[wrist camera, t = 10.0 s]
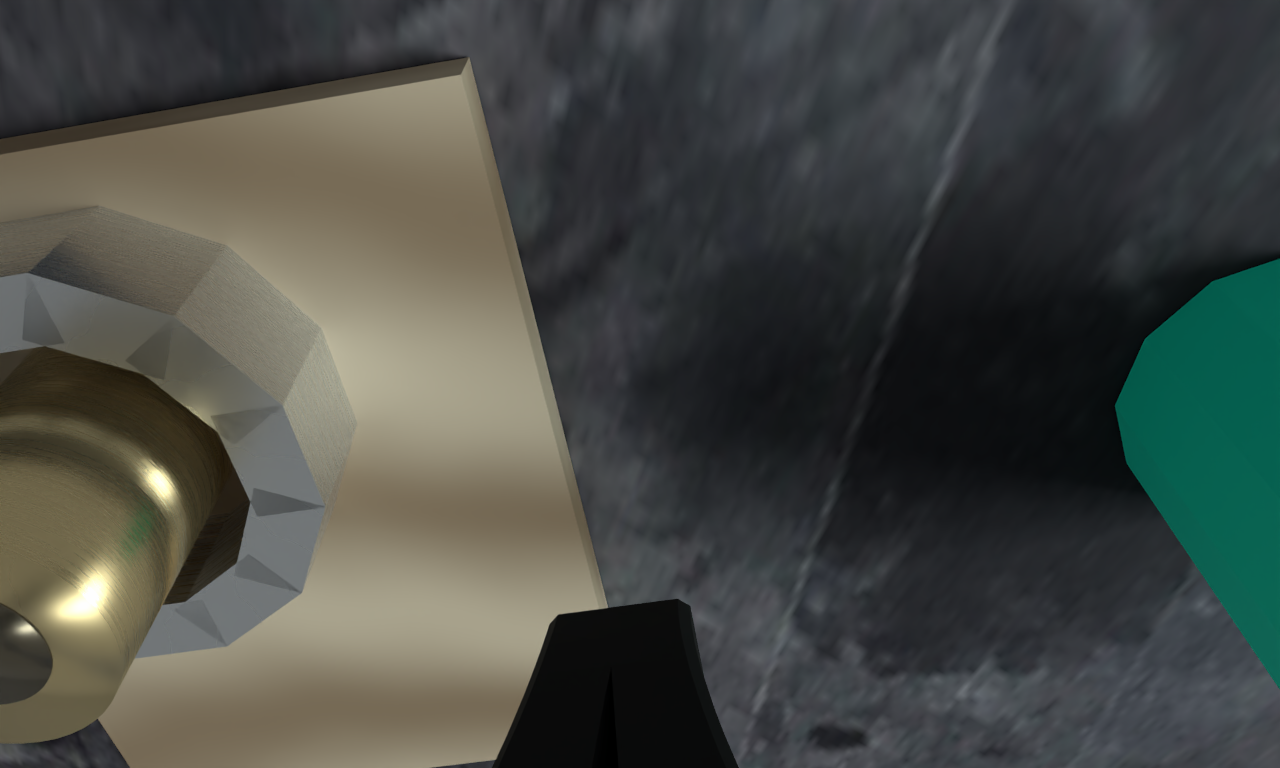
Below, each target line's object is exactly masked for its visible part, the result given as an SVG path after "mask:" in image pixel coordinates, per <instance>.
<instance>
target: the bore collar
mask: <svg viewBox="0 0 1280 768" xmlns="http://www.w3.org/2000/svg"><path fill="white" fill-rule="evenodd" d="M43 346H46V347H50V348H53V349H57V350H60V351H64V352H67V353H71V354H74V355H78V356H81V357H85V358H88V359H92V360H95V361H99V362H102V363H106V364H110V365H113V366H117V367H120V368H124V369H127V370H131V371H134V372H138V373H141V374H143V375H145V376H146V377H147V378H149V379H150V380H151V381H152V382H154V383H155V384H156V385H158V386H159V387H160V388H161V389H163V390H164V391H165V392H167V393H168V394H169V395H170V396H172V397H173V398H174V399H176V400H177V401H178V402H179V403H181V404H182V405H183V406H185V407H186V408H187V409H188V410H190V411H191V412H192V413H193V414H195V415H196V416H197V417H199V418H200V419H201V420H202V421H204V422H205V423H206V424H208V425H209V426H210V427H211V428H213V429H214V430H215V431H217V432H218V434H219V436H220V438H221V440H222V442H223V444H224V447H225V449H226V451H227V453H228V455H229V457H230V459H231V462H232V464H233V466H234V468H235V470H236V472H237V474H238V476H239V479H240V481H241V483H242V485H243V487H244V489H245V491H246V494H247V496H248V499H247V500H246V501H244V502H243V503H242V504H240V505H239V506H238V507H237V508H235V509H234V510H233V511H231V512H230V513H226V514H219V515H212V516H209V517H208V519H207V521H206V523H205V525H204V526H203V528H202V530H201V532H200V534H199V536H198V538H197V540H196V542H195V544H194V546H193V548H192V549H191V551H190V553H189V555H188V557H187V559H186V561H185V563H184V565H183V567H182V569H181V571H180V572H179V574H178V576H177V578H176V580H175V582H174V584H173V586H172V588H171V590H170V592H169V594H168V595H167V597H166V599H165V601H164V603H163V605H162V607H161V609H160V611H159V613H158V615H157V616H156V618H155V620H154V622H153V624H152V626H151V628H150V630H149V632H148V634H147V636H146V638H145V639H144V641H143V643H142V645H141V647H140V649H139V651H138V653H137V655H136V657H135V659H136V658H144V657H151V656H159V655H167V654H174V653H182V652H189V651H197V650H205V649H212V648H220V647H227V646H229V645H230V644H231V643H233V642H234V641H236V640H237V639H238V638H240V637H241V636H243V635H244V634H245V633H247V632H248V631H250V630H251V629H252V628H254V627H255V626H257V625H258V624H259V623H261V622H262V621H264V620H265V619H266V618H268V617H269V616H270V615H272V614H273V613H275V612H276V611H277V610H279V609H280V608H282V607H283V606H284V605H286V604H287V603H289V602H290V601H291V600H293V599H294V598H296V597H297V596H298V595H300V594H301V593H302V592H303V589H304V587H305V584H306V581H307V578H308V576H309V573H310V570H311V568H312V565H313V562H314V560H315V557H316V554H317V551H318V549H319V546H320V543H321V541H322V538H323V535H324V533H325V530H326V527H327V524H328V522H329V519H330V516H331V514H332V511H333V508H334V506H335V502H336V498H337V495H338V491H339V488H340V484H341V480H342V477H343V473H344V470H345V466H346V462H347V459H348V455H349V452H350V448H351V444H352V441H353V437H354V434H355V430H356V427H357V420H356V418H355V415H354V413H353V410H352V407H351V405H350V402H349V399H348V397H347V394H346V391H345V389H344V386H343V384H342V381H341V378H340V376H339V373H338V370H337V368H336V365H335V363H334V360H333V357H332V355H331V352H330V349H329V347H328V344H327V341H326V339H325V336H324V334H323V331H322V328H321V327H320V326H319V325H318V324H316V323H315V322H314V321H313V320H312V319H311V318H310V317H308V316H307V315H306V314H305V313H304V312H303V311H302V310H300V309H299V308H298V307H297V306H296V305H295V304H294V303H292V302H291V301H290V300H289V299H288V298H287V297H286V296H284V295H283V294H282V293H281V292H280V291H279V290H278V289H276V288H275V287H274V286H273V285H272V284H271V283H270V282H269V281H267V280H266V279H265V278H264V277H263V276H262V275H261V274H259V273H258V272H257V271H256V270H255V269H254V268H253V267H251V266H250V265H249V264H248V263H247V262H246V261H245V260H243V259H242V258H241V257H240V256H239V255H238V254H237V253H235V252H234V251H233V250H232V249H231V248H230V247H229V246H227V245H224V244H221V243H218V242H215V241H211V240H208V239H205V238H202V237H199V236H195V235H192V234H189V233H186V232H183V231H179V230H176V229H173V228H170V227H166V226H163V225H160V224H157V223H154V222H150V221H147V220H144V219H141V218H138V217H134V216H131V215H128V214H125V213H122V212H118V211H115V210H112V209H109V208H105V207H102V206H95V207H89V208H83V209H77V210H72V211H66V212H60V213H54V214H48V215H42V216H36V217H30V218H24V219H18V220H12V221H6V222H0V353H5V352H11V351H17V350H24V349H30V348H36V347H43Z"/></svg>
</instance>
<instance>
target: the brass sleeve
mask: <svg viewBox="0 0 1280 768" xmlns="http://www.w3.org/2000/svg"><path fill="white" fill-rule="evenodd" d="M233 469H234V466H233V464H232V462H231V459H230V457H229V455H228V453H227V451H226V449H225V447H224V444H223V442H222V440H221V438H220V436H219V434H218V432H217V431H215V430H214V429H213V428H211V427H210V426H209V425H208V424H206V423H205V422H204V421H202V420H201V419H200V418H199V417H197V416H196V415H195V414H193V413H192V412H191V411H190V410H188V409H187V408H186V407H185V406H183V405H182V404H181V403H179V402H178V401H177V400H176V399H174V398H173V397H172V396H170V395H169V394H168V393H167V392H165V391H164V390H163V389H161V388H160V387H159V386H158V385H156V384H155V383H154V382H152V381H151V380H150V379H149V378H147V377H146V376H145V375H143V374H141V373H138V372H134V371H131V370H127V369H124V368H120V367H117V366H113V365H110V364H106V363H102V362H99V361H95V360H92V359H88V358H85V357H81V356H78V355H74V354H71V353H67V352H64V351H60V350H57V349H53V348H50V347H46V346H43V347H36V348H34V349H33V350H32V351H31V352H30V353H29V354H28V355H27V356H26V357H25V358H24V359H23V361H22V362H21V363H20V364H19V365H18V366H17V367H16V368H15V369H14V370H13V371H12V372H11V373H10V374H9V375H8V376H7V378H6V379H5V380H4V381H3V382H2V383H1V384H0V743H32V742H41V741H47V740H52V739H56V738H60V737H63V736H66V735H69V734H72V733H74V732H76V731H78V730H81V729H83V728H85V727H86V726H88V725H89V724H91V723H92V722H94V721H95V720H96V719H97V718H99V717H100V716H101V715H102V714H103V713H104V712H105V711H106V709H107V708H108V707H109V705H110V704H111V703H112V701H113V699H114V697H115V695H116V693H117V691H118V689H119V687H120V685H121V684H122V682H123V680H124V678H125V676H126V674H127V672H128V670H129V668H130V666H131V664H132V662H133V661H134V659H135V657H136V655H137V653H138V651H139V649H140V647H141V645H142V643H143V641H144V639H145V638H146V636H147V634H148V632H149V630H150V628H151V626H152V624H153V622H154V620H155V618H156V616H157V615H158V613H159V611H160V609H161V607H162V605H163V603H164V601H165V599H166V597H167V595H168V594H169V592H170V590H171V588H172V586H173V584H174V582H175V580H176V578H177V576H178V574H179V572H180V571H181V569H182V567H183V565H184V563H185V561H186V559H187V557H188V555H189V553H190V551H191V549H192V548H193V546H194V544H195V542H196V540H197V538H198V536H199V534H200V532H201V530H202V528H203V526H204V525H205V523H206V521H207V519H208V517H209V515H210V513H211V511H212V509H213V507H214V505H215V504H216V502H217V500H218V498H219V496H220V494H221V492H222V490H223V488H224V486H225V484H226V482H227V481H228V479H229V477H230V475H231V473H232V471H233Z"/></svg>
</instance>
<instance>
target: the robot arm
mask: <svg viewBox="0 0 1280 768" xmlns="http://www.w3.org/2000/svg"><path fill="white" fill-rule="evenodd" d="M492 768H739V767H738V765H737V763H736V760H735V758H734V756H733V753H732V751H731V749H730V746H729V744H728V742H727V739H726V737H725V735H724V732H723V730H722V727H721V725H720V722H719V719H718V717H717V714H716V711H715V709H714V706H713V703H712V700H711V697H710V694H709V691H708V688H707V685H706V682H705V679H704V675H703V669H702V664H701V659H700V654H699V649H698V644H697V639H696V633H695V628H694V623H693V618H692V613H691V608H690V606H689V605H687V604H686V603H684V602H682V601H681V600H679V599H673V600H665V601H657V602H650V603H642V604H634V605H627V606H619V607H611V608H604V609H596V610H588V611H581V612H573V613H565V614H558V615H557V616H556V617H555V619H554V620H553V621H552V622H551V623H550V624H549V627H548V630H547V633H546V636H545V639H544V642H543V645H542V648H541V651H540V654H539V656H538V659H537V662H536V665H535V667H534V670H533V673H532V675H531V678H530V681H529V683H528V686H527V688H526V691H525V693H524V696H523V698H522V701H521V703H520V705H519V708H518V710H517V713H516V715H515V717H514V720H513V722H512V724H511V727H510V729H509V732H508V734H507V736H506V738H505V741H504V743H503V745H502V747H501V749H500V751H499V754H498V756H497V758H496V760H495V762H494V764H493V767H492Z"/></svg>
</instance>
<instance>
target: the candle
mask: <svg viewBox="0 0 1280 768" xmlns="http://www.w3.org/2000/svg"><path fill="white" fill-rule="evenodd" d="M1115 409H1116V414H1117V419H1118V424H1119V429H1120V434H1121V439H1122V444H1123V449H1124V454H1125V459H1126V463H1127V465H1128V466H1129V468H1130V469H1131V471H1132V472H1133V473H1134V475H1135V476H1136V478H1137V479H1138V481H1139V482H1140V484H1141V485H1142V487H1143V488H1144V490H1145V491H1146V493H1147V494H1148V496H1149V497H1150V499H1151V500H1152V502H1153V503H1154V504H1155V506H1156V507H1157V509H1158V510H1159V512H1160V513H1161V515H1162V516H1163V518H1164V519H1165V521H1166V522H1167V524H1168V525H1169V527H1170V528H1171V530H1172V531H1173V533H1174V534H1175V535H1176V537H1177V538H1178V540H1179V541H1180V543H1181V544H1182V546H1183V547H1184V549H1185V550H1186V552H1187V553H1188V555H1189V556H1190V558H1191V559H1192V561H1193V562H1194V564H1195V565H1196V566H1197V568H1198V569H1199V571H1200V572H1201V574H1202V575H1203V577H1204V578H1205V580H1206V581H1207V583H1208V584H1209V586H1210V587H1211V589H1212V590H1213V592H1214V593H1215V595H1216V596H1217V597H1218V599H1219V600H1220V602H1221V603H1222V605H1223V606H1224V608H1225V609H1226V611H1227V612H1228V614H1229V615H1230V617H1231V618H1232V620H1233V621H1234V623H1235V624H1236V626H1237V627H1238V628H1239V630H1240V631H1241V633H1242V634H1243V636H1244V637H1245V639H1246V640H1247V642H1248V643H1249V645H1250V646H1251V648H1252V649H1253V651H1254V652H1255V654H1256V655H1257V657H1258V658H1259V659H1260V661H1261V662H1262V664H1263V665H1264V667H1265V668H1266V670H1267V671H1268V673H1269V674H1270V676H1271V677H1272V679H1273V680H1274V682H1275V683H1276V685H1277V686H1278V688H1279V689H1280V259H1277V260H1274V261H1271V262H1268V263H1265V264H1262V265H1259V266H1256V267H1253V268H1250V269H1247V270H1244V271H1241V272H1238V273H1235V274H1232V275H1230V276H1227V277H1224V278H1221V279H1218V280H1215V281H1212V282H1211V283H1210V284H1209V285H1207V286H1206V287H1205V288H1204V289H1203V290H1202V291H1200V292H1199V293H1198V294H1197V295H1196V296H1195V297H1193V298H1192V299H1191V300H1190V301H1189V302H1188V303H1186V304H1185V305H1184V306H1183V307H1182V308H1180V309H1179V310H1178V311H1177V312H1176V313H1175V314H1173V315H1172V316H1171V317H1170V318H1169V319H1168V320H1166V321H1165V322H1164V323H1163V324H1162V325H1161V326H1159V327H1158V328H1157V329H1156V330H1155V331H1153V332H1152V333H1151V334H1150V335H1149V336H1148V337H1146V338H1145V340H1144V342H1143V344H1142V346H1141V349H1140V351H1139V353H1138V355H1137V357H1136V360H1135V362H1134V364H1133V366H1132V369H1131V371H1130V373H1129V375H1128V377H1127V380H1126V382H1125V384H1124V386H1123V389H1122V391H1121V393H1120V395H1119V397H1118V400H1117V402H1116V404H1115Z"/></svg>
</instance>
